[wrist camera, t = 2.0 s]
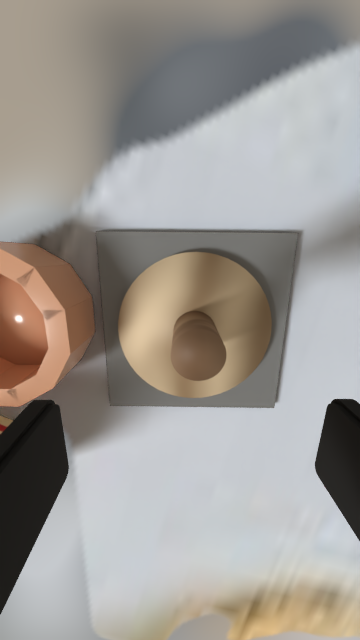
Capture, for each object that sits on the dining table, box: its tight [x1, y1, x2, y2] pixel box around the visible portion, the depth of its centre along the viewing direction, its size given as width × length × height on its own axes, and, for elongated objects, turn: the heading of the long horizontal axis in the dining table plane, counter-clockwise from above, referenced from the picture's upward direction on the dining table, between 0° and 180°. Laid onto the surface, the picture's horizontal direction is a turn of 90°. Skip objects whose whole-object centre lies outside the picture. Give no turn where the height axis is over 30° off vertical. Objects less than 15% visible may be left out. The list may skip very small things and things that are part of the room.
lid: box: [118, 252, 272, 398], centre depth 18 cm, size 13×13×6 cm
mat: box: [96, 231, 298, 408], centre depth 21 cm, size 16×16×1 cm
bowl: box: [0, 242, 95, 407], centre depth 19 cm, size 12×12×5 cm
